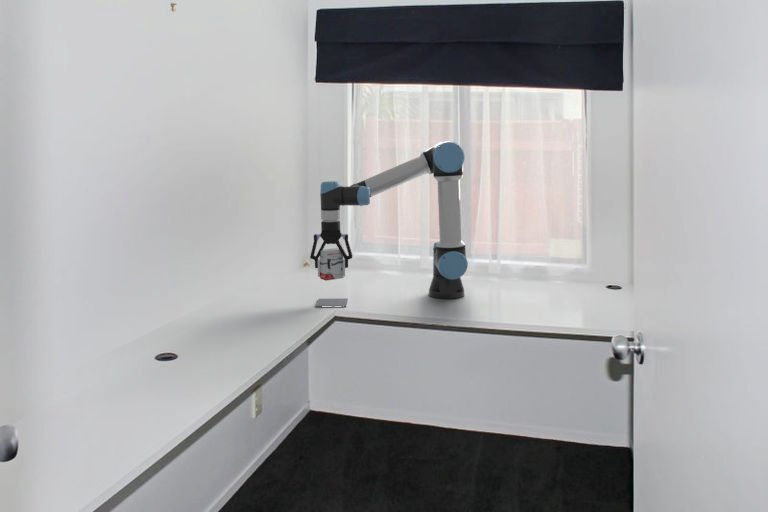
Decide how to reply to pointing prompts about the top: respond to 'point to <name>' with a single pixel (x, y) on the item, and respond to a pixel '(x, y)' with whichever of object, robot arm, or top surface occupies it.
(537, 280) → the top surface
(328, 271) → the ink box
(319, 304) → the slate coaster
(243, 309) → the top surface
